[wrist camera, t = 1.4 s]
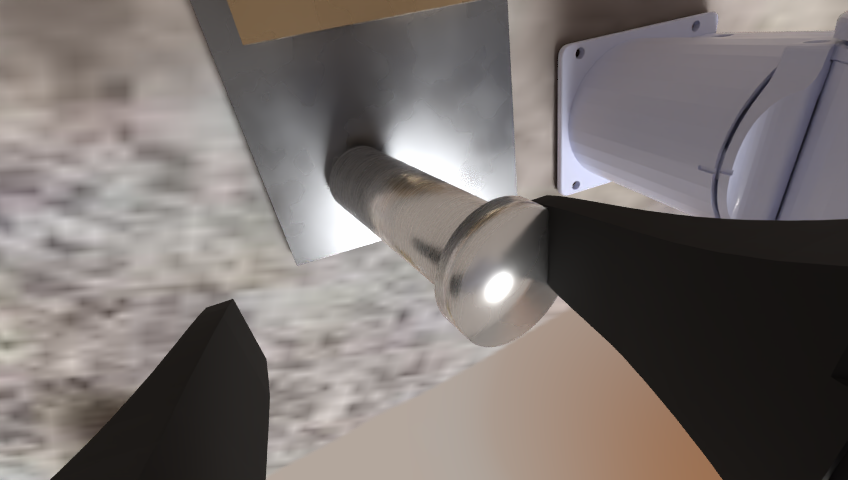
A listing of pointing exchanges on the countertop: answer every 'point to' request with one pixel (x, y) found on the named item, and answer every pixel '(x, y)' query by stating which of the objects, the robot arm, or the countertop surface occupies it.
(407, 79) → the clevis base
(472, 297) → the steel pin
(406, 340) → the countertop surface
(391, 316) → the countertop surface
